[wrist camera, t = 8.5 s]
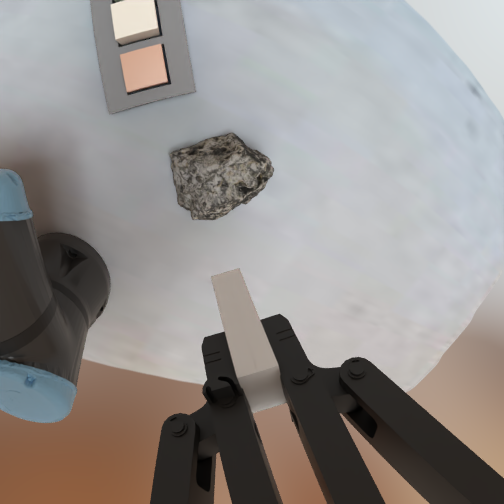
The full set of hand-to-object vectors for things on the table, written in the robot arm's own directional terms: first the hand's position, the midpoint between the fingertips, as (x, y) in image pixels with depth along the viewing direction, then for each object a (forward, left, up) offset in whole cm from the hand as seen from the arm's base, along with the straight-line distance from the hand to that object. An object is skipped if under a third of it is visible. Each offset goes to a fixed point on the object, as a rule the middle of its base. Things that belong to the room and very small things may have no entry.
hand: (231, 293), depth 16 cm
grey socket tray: (-3, +23, -26) cm, 35 cm away
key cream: (-3, +20, -23) cm, 31 cm away
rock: (+2, 0, -26) cm, 26 cm away
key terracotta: (-3, +14, -25) cm, 29 cm away
